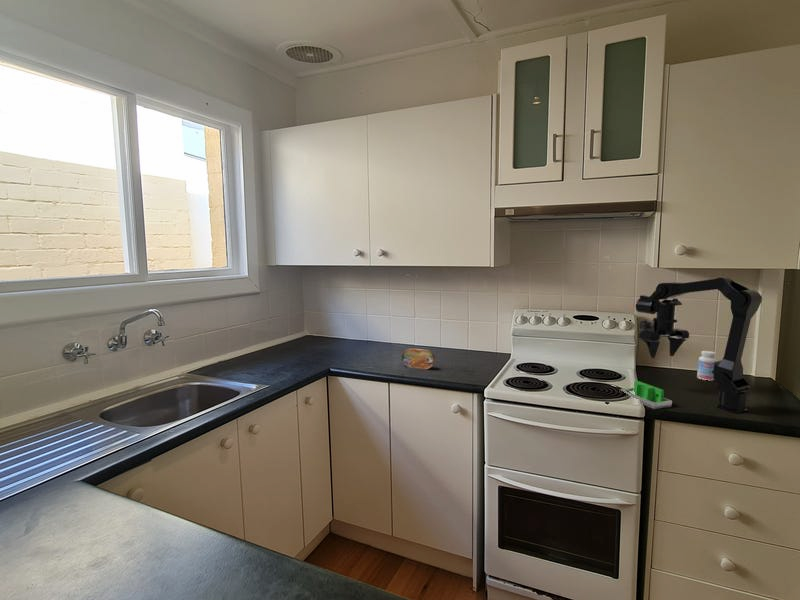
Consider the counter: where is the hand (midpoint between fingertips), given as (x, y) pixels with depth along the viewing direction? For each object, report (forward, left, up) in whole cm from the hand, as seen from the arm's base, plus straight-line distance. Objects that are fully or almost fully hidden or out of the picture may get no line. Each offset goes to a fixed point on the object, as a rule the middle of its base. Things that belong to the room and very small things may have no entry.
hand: (662, 357), depth 166 cm
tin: (+53, +78, -12) cm, 95 cm away
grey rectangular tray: (-9, +17, -12) cm, 23 cm away
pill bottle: (+3, -28, -12) cm, 31 cm away
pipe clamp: (-9, +17, -11) cm, 22 cm away
